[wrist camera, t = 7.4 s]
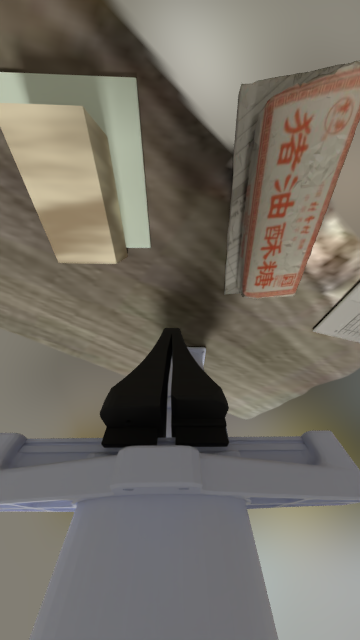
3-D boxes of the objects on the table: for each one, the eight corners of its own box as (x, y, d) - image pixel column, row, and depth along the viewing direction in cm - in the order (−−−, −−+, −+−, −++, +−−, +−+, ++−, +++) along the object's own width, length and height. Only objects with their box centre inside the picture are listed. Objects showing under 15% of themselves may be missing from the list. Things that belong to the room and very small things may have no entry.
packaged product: (314, 299, 18) (232, 307, 18) (288, 285, 22) (222, 292, 22) (455, -8, 8) (263, 27, 8) (359, 72, 12) (235, 93, 12)
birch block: (116, 263, 15) (82, 105, 10) (58, 262, 15) (-11, 102, 9) (127, 256, 18) (107, 136, 13) (80, 255, 18) (39, 134, 13)
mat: (150, 247, 18) (150, 248, 18) (54, 245, 18) (52, 246, 18) (136, 80, 11) (135, 77, 11) (-18, 74, 11) (-22, 71, 11)
